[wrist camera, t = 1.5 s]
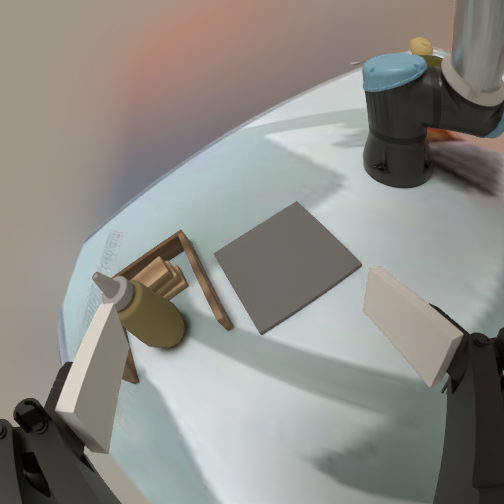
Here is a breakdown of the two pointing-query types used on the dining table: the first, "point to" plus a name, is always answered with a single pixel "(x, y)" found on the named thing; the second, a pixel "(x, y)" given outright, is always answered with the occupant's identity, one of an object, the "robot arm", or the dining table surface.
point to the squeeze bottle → (142, 311)
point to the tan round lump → (421, 46)
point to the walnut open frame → (180, 244)
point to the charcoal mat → (284, 265)
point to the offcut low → (179, 287)
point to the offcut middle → (170, 283)
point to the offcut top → (155, 274)
